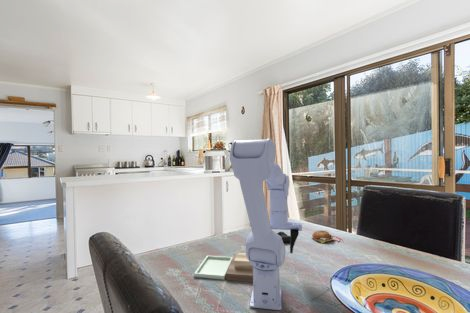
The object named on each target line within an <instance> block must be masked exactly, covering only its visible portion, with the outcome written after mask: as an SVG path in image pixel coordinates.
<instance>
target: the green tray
mask: <svg viewBox="0 0 470 313" xmlns="http://www.w3.org/2000/svg"><path fill="white" fill-rule="evenodd" d="M233 257H234V256H223V255H206V257H204V259H203V260H202V262H201V263H200V265H199V266H198V267H197V269H196V270H195V271H194V273H193V277H194V278H199V279H209V280H210V279H211V280H213V279H214V280H226V272H227V270H228V268H229V265H230V263H231V261H232V259H233Z"/></svg>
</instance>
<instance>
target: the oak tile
mask: <svg viewBox="0 0 470 313" xmlns="http://www.w3.org/2000/svg"><path fill="white" fill-rule="evenodd" d="M236 255H237V256H236V258H235V260H234V266H235V268H242V269H253V266H252V265H251V261H249V260H248V259H247V256H246V252H243V253H242V252H237V253H236Z"/></svg>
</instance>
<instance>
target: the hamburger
mask: <svg viewBox="0 0 470 313" xmlns="http://www.w3.org/2000/svg"><path fill="white" fill-rule="evenodd" d="M335 237H336V238H335ZM311 238H312V239H313V240H314V241H316V242H318V243H321V244H324V243H329V242H330V241H334V242H337V243H340V242H341V240H342V241H343V242H344V240H343V239H342V238H340V237H338V236H334V235H332V234H331V233H330V232H329V231H327V230H321V229H320V230H316V231H314V232H313V233H312V234H311ZM334 238H335V239H334ZM337 239H338V240H337Z"/></svg>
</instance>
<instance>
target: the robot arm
mask: <svg viewBox="0 0 470 313" xmlns="http://www.w3.org/2000/svg"><path fill="white" fill-rule="evenodd" d="M276 153H277V152H276V144H275V142H274V141H273V140H272V138H266V139H265V138H263V139H243V140H242V139H241V140H240V139H235V140H233V142H232V143H231V146H230V150H229V159H230V160H229V161H230V164H231V168H232V171H233V176H234V177H235V178H236V179H238V180H239V185H240V189H241V193H242V196H243V200H244V201H243V202H244V205H245V208H246V213H247V217H248V221H249V225H250V230H251V232H249V233H248V234H247V236H246V237H247V238H246V240H245V253H246V256H247V259H248V260H249V261H251V265H252V266H253V282H252V292H251V297H250V302H249V307H250V308H256V309H264V310H266V309H267V310H274V311H282V288H281V287H280V286H281V285H280V283H281V282H280V278H281V277H280V267H282V266H283V265H284V264H285V260H286V245H285V244H286V243H283V241H282V238H281V236H280V235H278V234H277V233H278V232H277V233H276V232H275V231H273V230H283V231H284V230H286V231H289V232H290V235H289V236H290V239H291V240H290V243H289V253H290V254H293V253H294V247H295V243H296V241H297V239H298V237H299V234H300V232H302V231H303V225H302V223H300V222H291V221H288V220H289V219H288V216H289V214H288V213H289V212H288V196H289V190H290V177H289V175H288V174H286V173H284V172H283V170H282V168H281V166H280V165H279V164H278V162H277V163H276V161H275V160H276ZM263 182H265V184H266V188H267V190H268V191H269V211H268V206H267V202H266V195H265V191H264V187H263Z"/></svg>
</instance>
